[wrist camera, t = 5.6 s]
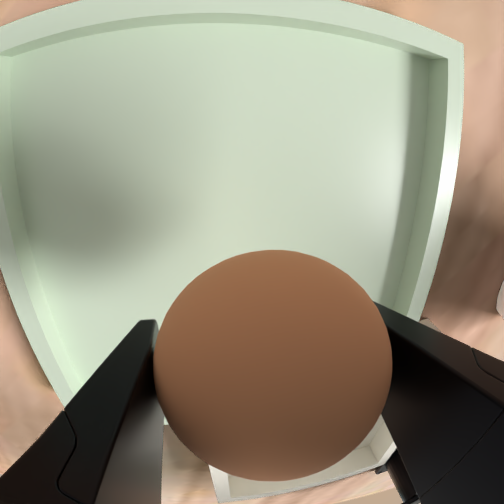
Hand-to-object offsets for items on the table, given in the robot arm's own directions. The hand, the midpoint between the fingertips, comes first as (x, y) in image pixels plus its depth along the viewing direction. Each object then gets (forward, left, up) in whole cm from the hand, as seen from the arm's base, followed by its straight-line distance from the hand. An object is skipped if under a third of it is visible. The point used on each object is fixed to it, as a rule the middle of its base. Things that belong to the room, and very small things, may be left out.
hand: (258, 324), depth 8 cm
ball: (0, 0, +2) cm, 2 cm away
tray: (0, 0, -5) cm, 5 cm away
